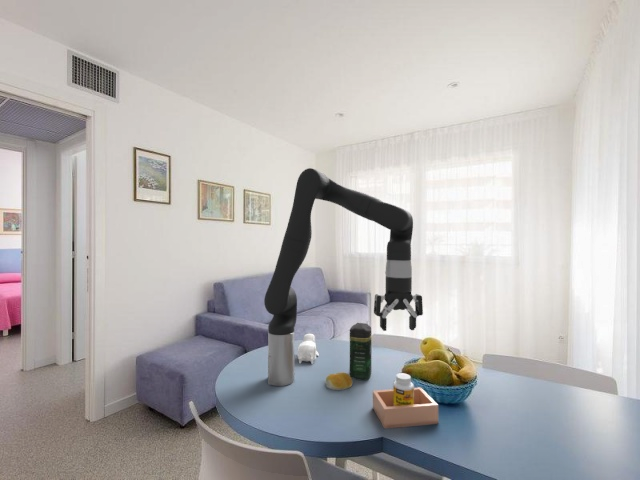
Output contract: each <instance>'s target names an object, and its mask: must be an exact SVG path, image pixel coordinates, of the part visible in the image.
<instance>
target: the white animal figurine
mask: <svg viewBox="0 0 640 480" xmlns="http://www.w3.org/2000/svg"><path fill="white" fill-rule="evenodd" d="M302 340H303V341H302V342H300V344H299V345H298V347H297V359H298V363H299V364H302V362H310V363H311V365H313V364H314V360H316V359H317V357H319V356H320V354H319V352H318V351H317V343H316V337H315V335H314V334H313V333H307V334H304V336H303V339H302Z"/></svg>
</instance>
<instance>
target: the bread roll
mask: <svg viewBox="0 0 640 480" xmlns="http://www.w3.org/2000/svg"><path fill="white" fill-rule="evenodd" d="M352 379H353V378H351V377H350V374H348V373H346V372H337V373H331V374H329V375H327V376H326V378H325V386H326V387H327V388H328V389H330V390H333V391H342V390H345V389H346V390H347V389H349V388H351V387H352V385H353V380H352Z"/></svg>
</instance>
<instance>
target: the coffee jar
mask: <svg viewBox="0 0 640 480" xmlns="http://www.w3.org/2000/svg"><path fill="white" fill-rule="evenodd" d="M372 344H373V343H372V327H371V326H370V325H369V324H368V323H364V322H357V323H355V324H353V325H351V327H350V328H349V376H350V377H351V379H355V380H356V381H357V380H358V381H363V380H369V379H370V378H371V376H372V348H373V347H372V346H373V345H372Z"/></svg>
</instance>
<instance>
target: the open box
mask: <svg viewBox="0 0 640 480" xmlns="http://www.w3.org/2000/svg"><path fill="white" fill-rule="evenodd" d="M372 409H373V410H374V413H375V414H376V416H377V418H378V419H379V421H380V423H381V425H382V426H383V428H384V429H396V428H405V427H406V428H407V427H417V426H428V425H438V424H439V404H438V403H437V401H435V400H434V399H433V398H432V397H431V396H430V395H429V394H428V393H427V392H426V390H424V389H423V388H422V387H414V405H405V406H394V397H393V389H381V390H379V389H377V390H372Z"/></svg>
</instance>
